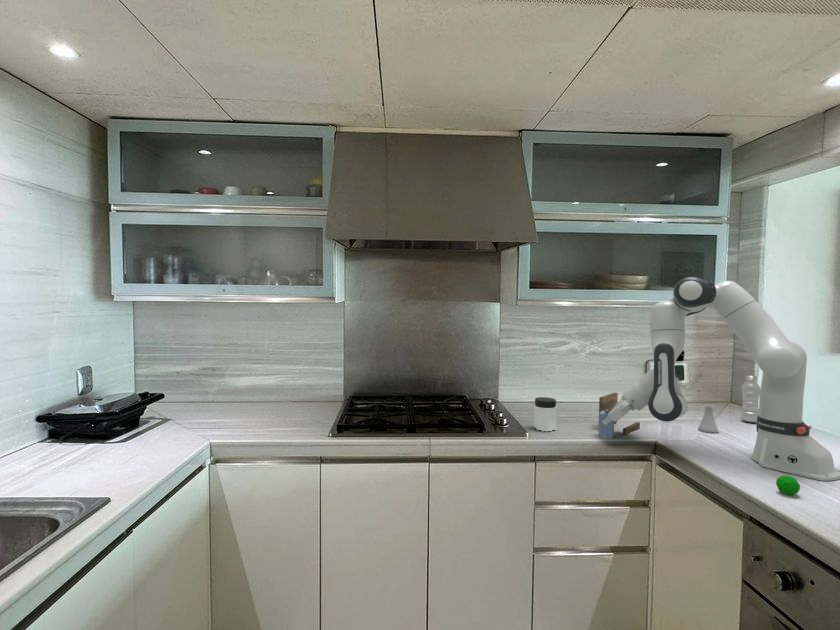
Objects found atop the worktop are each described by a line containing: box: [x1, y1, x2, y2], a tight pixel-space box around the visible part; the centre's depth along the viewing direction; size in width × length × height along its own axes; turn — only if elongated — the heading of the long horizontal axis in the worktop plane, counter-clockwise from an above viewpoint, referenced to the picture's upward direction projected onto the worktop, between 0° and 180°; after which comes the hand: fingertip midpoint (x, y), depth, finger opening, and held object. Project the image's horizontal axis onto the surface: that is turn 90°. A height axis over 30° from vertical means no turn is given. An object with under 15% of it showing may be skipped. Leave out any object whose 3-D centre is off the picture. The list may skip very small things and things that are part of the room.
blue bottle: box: [598, 409, 615, 439], centre depth 174 cm, size 4×5×10 cm
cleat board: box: [598, 392, 641, 436], centre depth 183 cm, size 11×14×13 cm
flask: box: [697, 404, 719, 434], centre depth 182 cm, size 7×7×10 cm
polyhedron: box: [775, 474, 801, 496], centre depth 123 cm, size 5×5×5 cm
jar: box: [533, 396, 558, 432], centre depth 182 cm, size 9×8×12 cm
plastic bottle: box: [740, 374, 761, 423], centre depth 196 cm, size 6×7×20 cm
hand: (605, 420), depth 174 cm, fingers open, 8 cm apart
